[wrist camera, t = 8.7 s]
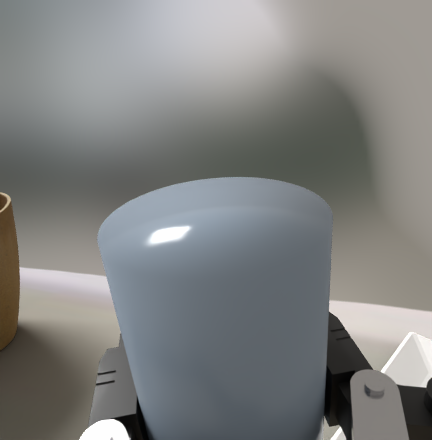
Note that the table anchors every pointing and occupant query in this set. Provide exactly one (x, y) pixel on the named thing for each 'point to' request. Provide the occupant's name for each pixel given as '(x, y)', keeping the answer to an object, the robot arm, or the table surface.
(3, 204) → the plant pot
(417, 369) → the plate
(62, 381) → the table surface
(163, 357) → the cylinder
